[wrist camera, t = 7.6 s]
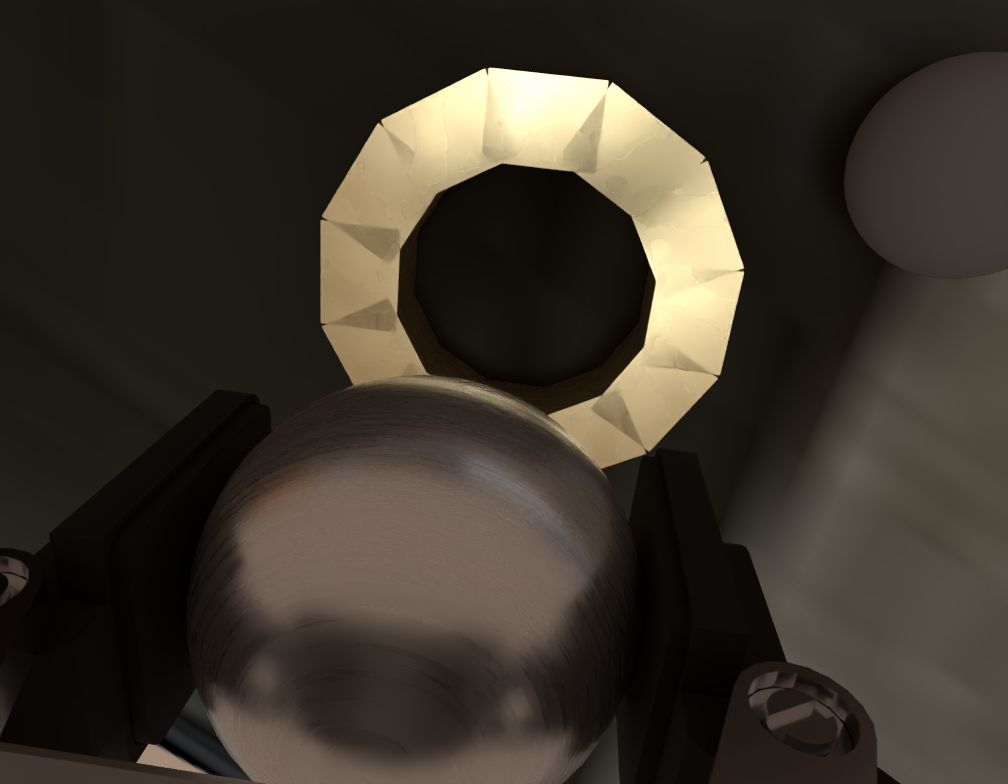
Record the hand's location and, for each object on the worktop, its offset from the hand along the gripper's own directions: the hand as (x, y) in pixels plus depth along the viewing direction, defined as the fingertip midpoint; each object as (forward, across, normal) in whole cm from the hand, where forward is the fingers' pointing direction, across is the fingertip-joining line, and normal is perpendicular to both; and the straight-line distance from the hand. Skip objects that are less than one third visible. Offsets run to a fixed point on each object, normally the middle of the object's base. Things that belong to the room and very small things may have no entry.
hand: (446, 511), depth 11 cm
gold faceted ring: (+14, 0, 0) cm, 14 cm away
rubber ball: (+11, -11, -5) cm, 17 cm away
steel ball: (-2, 0, 0) cm, 2 cm away
